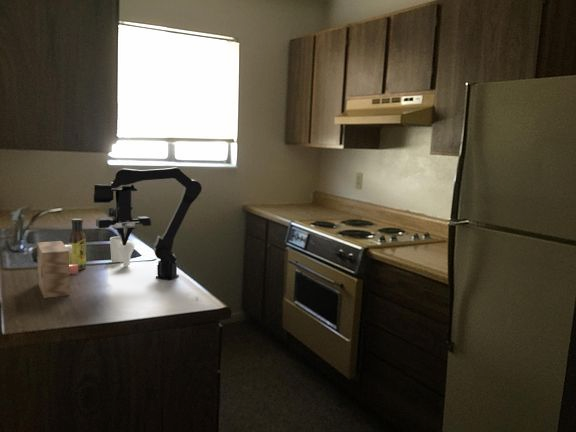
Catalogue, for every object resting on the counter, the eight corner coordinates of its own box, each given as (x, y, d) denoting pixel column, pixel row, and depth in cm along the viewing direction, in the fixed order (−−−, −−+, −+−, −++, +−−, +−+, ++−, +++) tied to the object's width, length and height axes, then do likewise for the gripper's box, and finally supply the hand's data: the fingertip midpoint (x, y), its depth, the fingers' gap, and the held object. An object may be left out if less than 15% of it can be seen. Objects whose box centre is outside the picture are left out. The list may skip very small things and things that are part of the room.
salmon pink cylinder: (76, 272, 182) (76, 263, 181) (78, 274, 179) (78, 265, 179) (54, 274, 178) (54, 265, 178) (55, 276, 176) (55, 267, 175)
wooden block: (62, 281, 193) (61, 240, 191) (70, 295, 177) (68, 250, 175) (38, 283, 189) (36, 242, 187) (43, 297, 173) (42, 252, 171)
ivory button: (71, 252, 191) (71, 243, 191) (72, 253, 189) (72, 245, 188) (50, 253, 188) (49, 245, 187) (51, 255, 185) (50, 246, 185)
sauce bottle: (83, 270, 208) (82, 220, 205) (67, 270, 208) (65, 220, 205) (88, 266, 215) (87, 218, 212) (72, 266, 214) (71, 217, 212)
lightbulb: (129, 268, 214) (129, 242, 212) (115, 267, 215) (115, 240, 213) (136, 265, 220) (136, 239, 218) (123, 264, 221) (123, 238, 219)
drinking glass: (129, 261, 226) (129, 238, 225) (114, 263, 221) (114, 240, 220) (121, 258, 231) (121, 235, 229) (107, 260, 226) (106, 237, 225)
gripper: (143, 199, 205) (143, 239, 208) (92, 201, 196) (93, 242, 198) (151, 203, 196) (151, 245, 198) (98, 205, 187) (99, 248, 189)
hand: (124, 245), depth 196 cm, fingers closed
